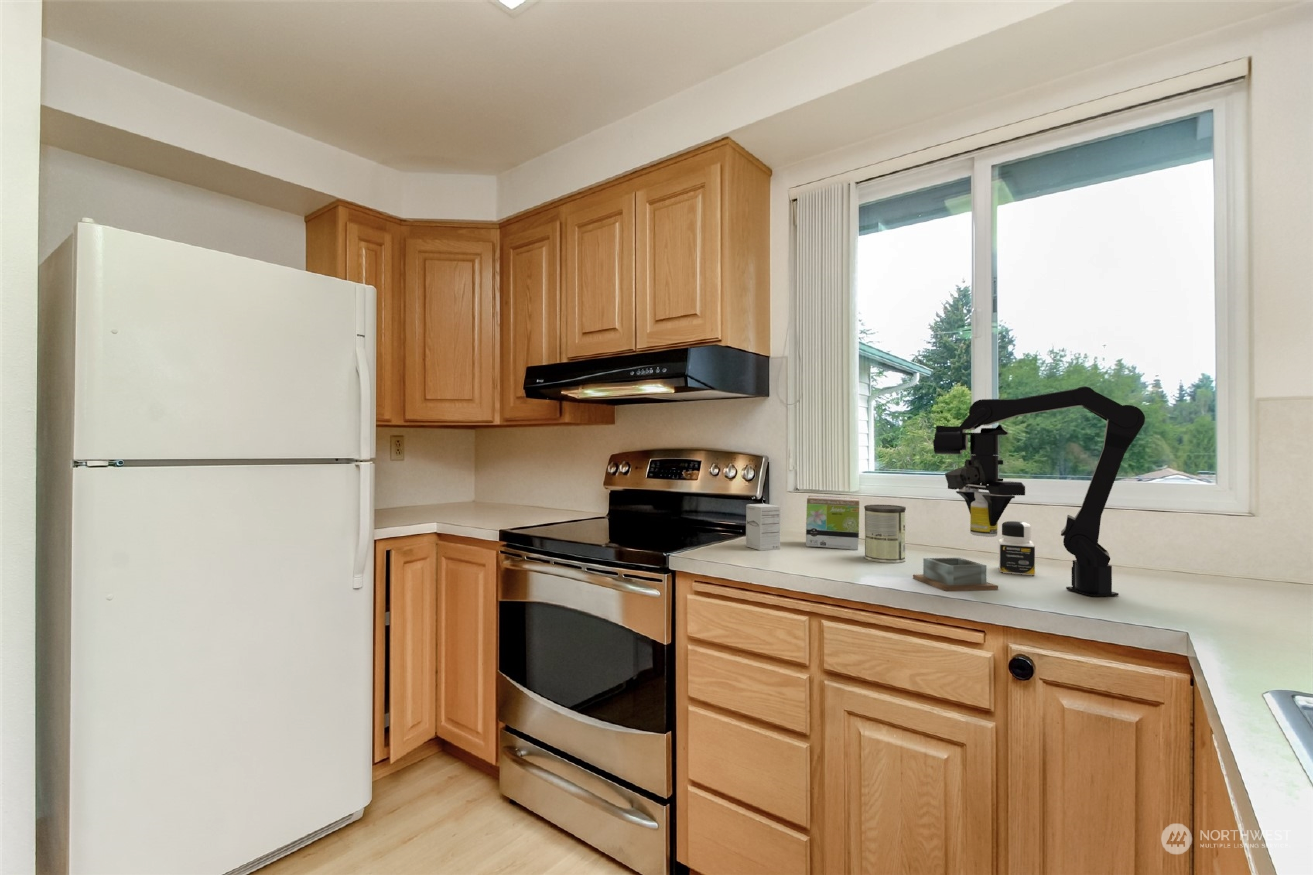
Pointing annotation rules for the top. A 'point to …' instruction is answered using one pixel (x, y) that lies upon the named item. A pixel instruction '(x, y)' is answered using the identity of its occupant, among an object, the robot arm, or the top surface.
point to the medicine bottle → (1016, 549)
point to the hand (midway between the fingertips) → (983, 524)
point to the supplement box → (763, 526)
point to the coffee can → (885, 533)
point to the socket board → (954, 574)
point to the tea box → (832, 522)
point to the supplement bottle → (981, 517)
